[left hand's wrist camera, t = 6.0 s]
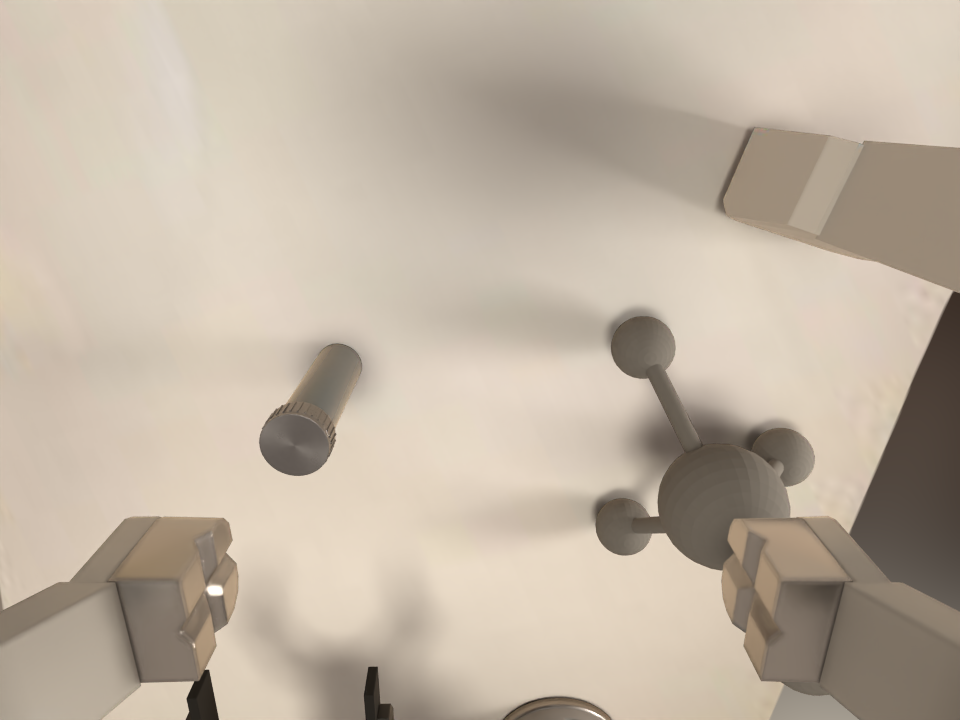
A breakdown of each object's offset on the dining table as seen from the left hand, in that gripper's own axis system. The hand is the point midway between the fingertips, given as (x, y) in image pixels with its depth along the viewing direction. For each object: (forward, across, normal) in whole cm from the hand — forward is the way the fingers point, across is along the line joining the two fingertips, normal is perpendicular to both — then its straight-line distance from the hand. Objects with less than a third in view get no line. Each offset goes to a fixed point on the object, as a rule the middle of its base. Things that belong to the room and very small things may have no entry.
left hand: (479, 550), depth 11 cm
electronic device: (+48, -27, 0) cm, 55 cm away
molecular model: (+48, -18, +24) cm, 57 cm away
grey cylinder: (+48, +13, +16) cm, 52 cm away
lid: (+32, +13, +16) cm, 38 cm away
